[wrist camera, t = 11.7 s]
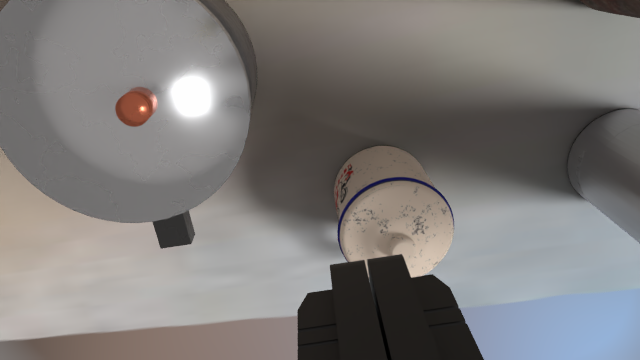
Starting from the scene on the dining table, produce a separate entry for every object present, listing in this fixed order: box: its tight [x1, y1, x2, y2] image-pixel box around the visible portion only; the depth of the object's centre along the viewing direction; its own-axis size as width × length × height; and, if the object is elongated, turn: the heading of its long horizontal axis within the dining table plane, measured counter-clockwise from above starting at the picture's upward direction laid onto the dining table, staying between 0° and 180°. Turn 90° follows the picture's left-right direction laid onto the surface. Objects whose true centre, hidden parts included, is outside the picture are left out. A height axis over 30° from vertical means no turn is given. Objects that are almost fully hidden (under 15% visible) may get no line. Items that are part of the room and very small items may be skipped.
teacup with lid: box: [334, 146, 454, 278], centre depth 43 cm, size 12×9×12 cm
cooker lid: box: [0, 0, 251, 223], centre depth 33 cm, size 17×17×3 cm
